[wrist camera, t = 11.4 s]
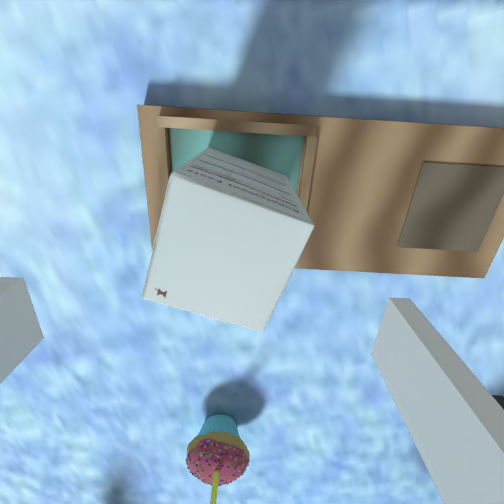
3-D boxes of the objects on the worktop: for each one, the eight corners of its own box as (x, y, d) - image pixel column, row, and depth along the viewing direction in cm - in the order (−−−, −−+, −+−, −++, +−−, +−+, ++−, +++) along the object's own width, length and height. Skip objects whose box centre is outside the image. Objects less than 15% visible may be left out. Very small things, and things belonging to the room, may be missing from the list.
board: (538, 130, 25) (564, 132, 23) (473, 271, 31) (489, 282, 29) (143, 105, 24) (133, 104, 22) (157, 253, 30) (150, 264, 28)
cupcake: (192, 403, 40) (170, 508, 30) (252, 407, 41) (252, 513, 30) (192, 440, 44) (172, 545, 33) (247, 443, 44) (245, 549, 34)
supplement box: (259, 246, 28) (262, 338, 16) (185, 221, 27) (134, 300, 15) (289, 174, 25) (320, 226, 13) (208, 142, 24) (166, 169, 12)
